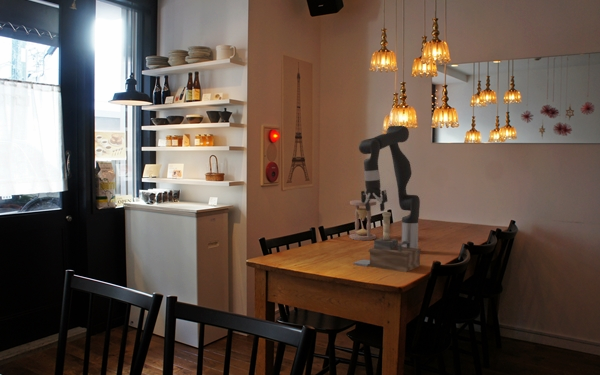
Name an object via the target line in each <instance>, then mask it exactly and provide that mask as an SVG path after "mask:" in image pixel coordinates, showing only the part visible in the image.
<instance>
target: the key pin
mask: <svg viewBox="0 0 600 375" xmlns="http://www.w3.org/2000/svg"><path fill="white" fill-rule="evenodd" d="M391 214H392V212H390V211H389V212H387V211H385V212H384V211H382V217H383V218H382V222H383V223H382V224H383V225H382V226H383V228H382V229H383V232H382V233H383V234H382V238H383V241H389V239H390V227H391V226H390V224H391V223H390V222H391V217H392V215H391Z"/></svg>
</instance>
